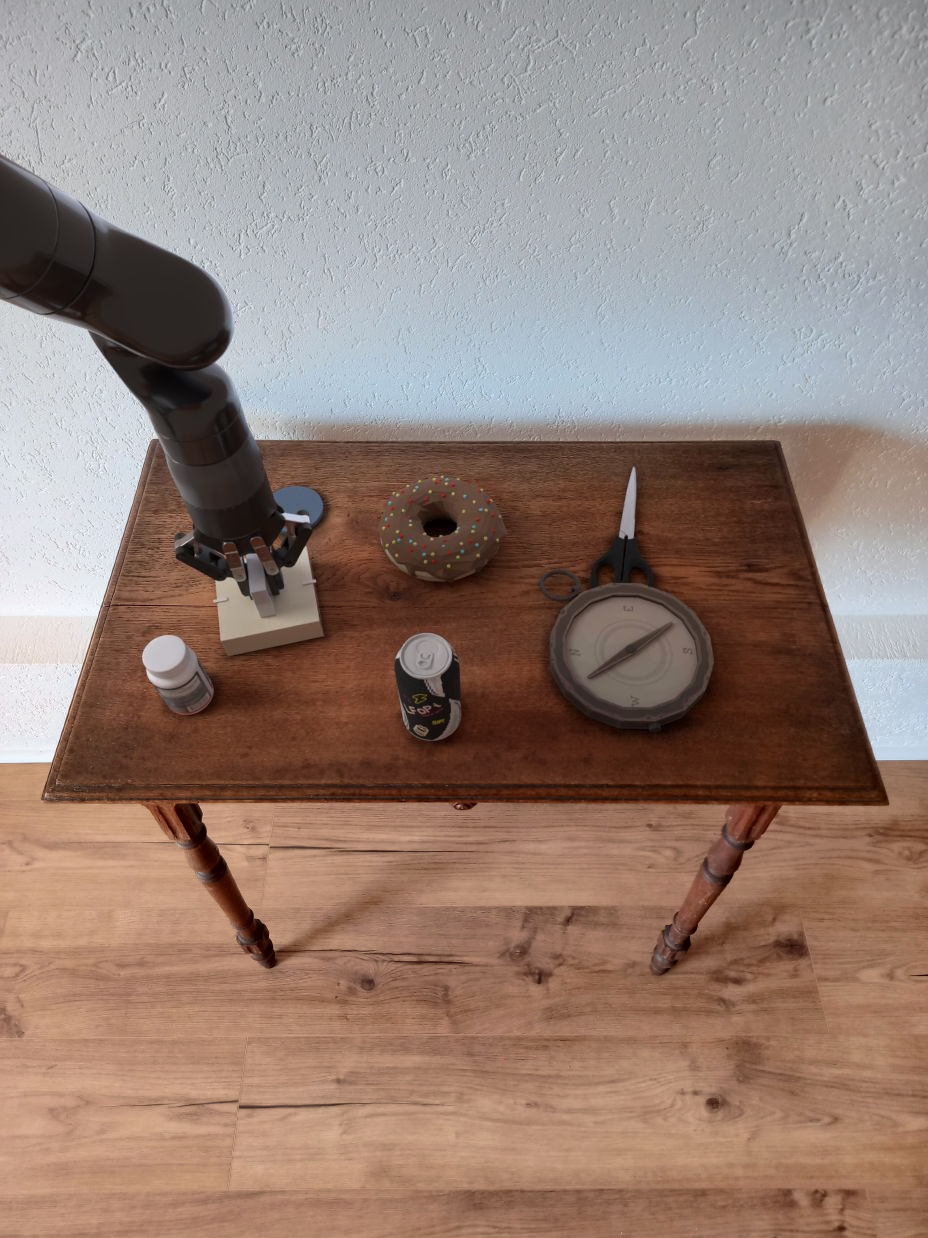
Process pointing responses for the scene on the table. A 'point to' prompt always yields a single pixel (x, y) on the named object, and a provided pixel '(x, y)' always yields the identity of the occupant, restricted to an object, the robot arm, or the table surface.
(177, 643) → the pill bottle
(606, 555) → the scissors
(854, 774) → the table surface
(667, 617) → the compass
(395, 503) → the donut
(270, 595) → the tap handle
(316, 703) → the table surface
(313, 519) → the coaster
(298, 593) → the base
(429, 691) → the beverage can
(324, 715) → the table surface
